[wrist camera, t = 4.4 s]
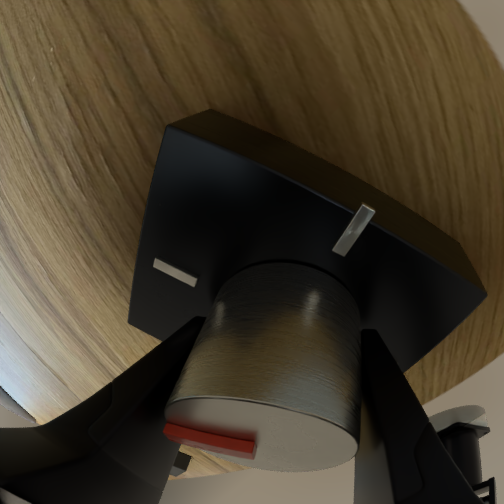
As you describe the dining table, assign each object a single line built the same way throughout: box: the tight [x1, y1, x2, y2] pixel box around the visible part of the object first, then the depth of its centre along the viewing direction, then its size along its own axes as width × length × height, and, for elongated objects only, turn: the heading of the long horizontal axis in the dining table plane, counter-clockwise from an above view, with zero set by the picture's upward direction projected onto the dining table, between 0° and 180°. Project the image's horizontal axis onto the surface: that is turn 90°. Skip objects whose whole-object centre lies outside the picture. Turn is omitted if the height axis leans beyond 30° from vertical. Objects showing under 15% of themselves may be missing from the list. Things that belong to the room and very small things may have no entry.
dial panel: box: [128, 109, 488, 373], centre depth 10 cm, size 10×9×3 cm
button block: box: [170, 452, 191, 477], centre depth 31 cm, size 10×8×4 cm
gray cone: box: [0, 387, 36, 423], centre depth 60 cm, size 8×9×26 cm
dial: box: [163, 262, 362, 472], centre depth 7 cm, size 4×4×4 cm
